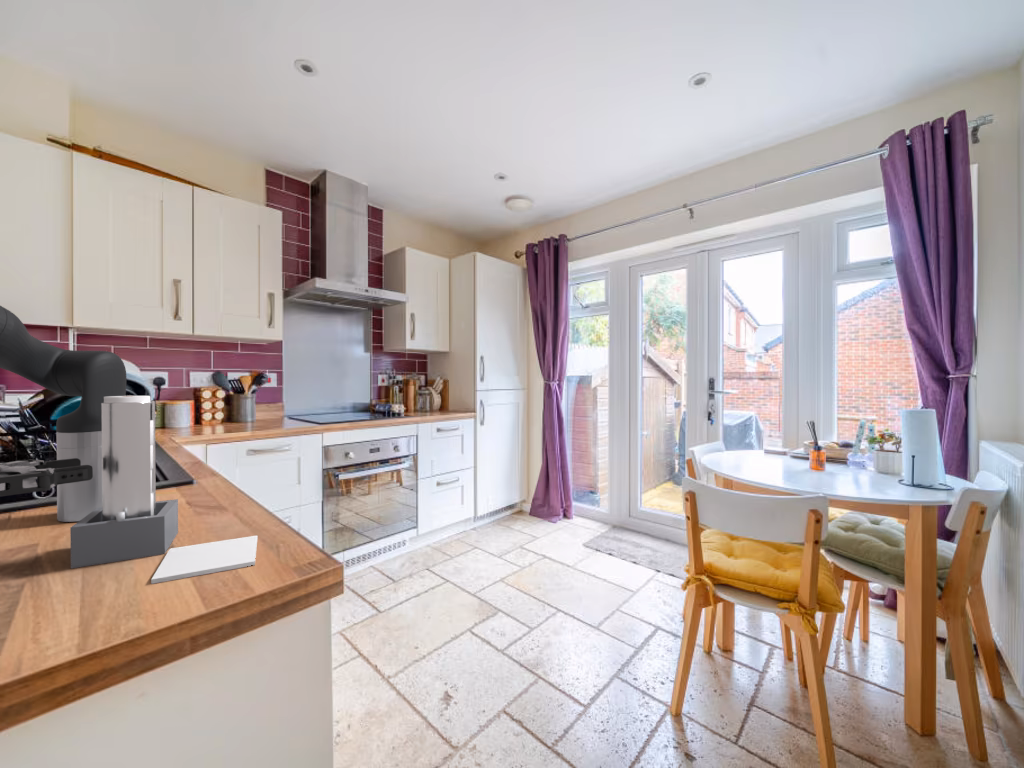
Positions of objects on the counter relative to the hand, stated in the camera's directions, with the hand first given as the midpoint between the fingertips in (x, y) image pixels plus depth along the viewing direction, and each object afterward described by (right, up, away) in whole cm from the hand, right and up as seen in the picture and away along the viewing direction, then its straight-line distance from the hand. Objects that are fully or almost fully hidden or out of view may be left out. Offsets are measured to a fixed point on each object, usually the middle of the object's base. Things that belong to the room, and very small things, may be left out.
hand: (85, 468), depth 65 cm
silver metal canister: (+3, -14, +4) cm, 15 cm away
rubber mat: (+19, -14, 0) cm, 23 cm away
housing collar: (+3, -14, +4) cm, 15 cm away
